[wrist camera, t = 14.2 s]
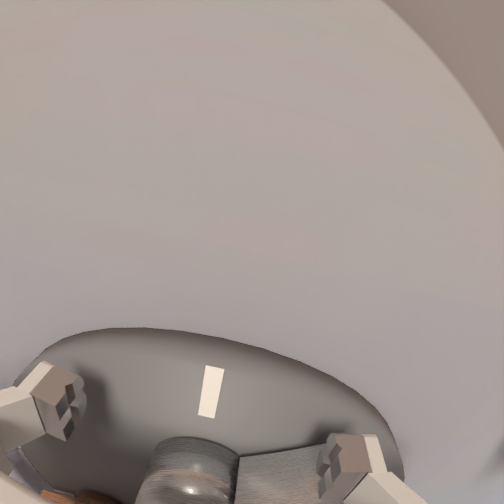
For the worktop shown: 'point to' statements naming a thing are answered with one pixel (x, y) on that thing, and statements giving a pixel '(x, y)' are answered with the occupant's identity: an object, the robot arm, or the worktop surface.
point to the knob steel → (229, 475)
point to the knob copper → (78, 498)
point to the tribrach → (188, 406)
